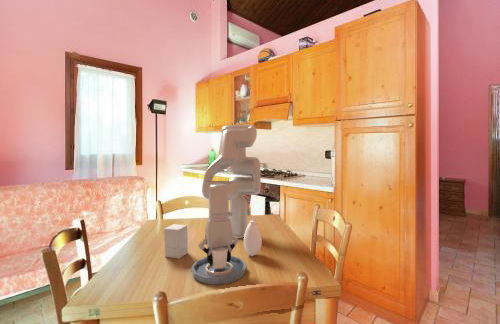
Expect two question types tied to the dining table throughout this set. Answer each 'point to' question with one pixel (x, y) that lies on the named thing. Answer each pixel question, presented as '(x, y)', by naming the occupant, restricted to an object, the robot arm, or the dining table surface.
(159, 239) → the dining table surface
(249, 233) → the air blower bulb
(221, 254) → the pale cup
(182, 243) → the supplement box
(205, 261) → the round tray
